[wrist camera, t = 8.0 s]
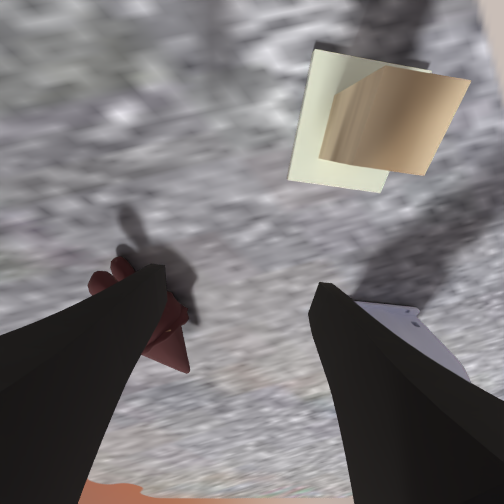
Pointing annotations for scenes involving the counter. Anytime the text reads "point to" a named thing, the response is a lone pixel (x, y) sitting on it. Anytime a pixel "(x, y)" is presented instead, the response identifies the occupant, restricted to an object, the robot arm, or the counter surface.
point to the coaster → (316, 117)
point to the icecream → (168, 329)
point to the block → (392, 120)
